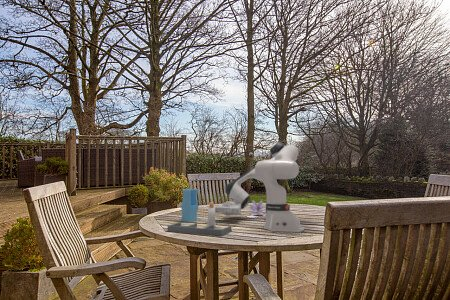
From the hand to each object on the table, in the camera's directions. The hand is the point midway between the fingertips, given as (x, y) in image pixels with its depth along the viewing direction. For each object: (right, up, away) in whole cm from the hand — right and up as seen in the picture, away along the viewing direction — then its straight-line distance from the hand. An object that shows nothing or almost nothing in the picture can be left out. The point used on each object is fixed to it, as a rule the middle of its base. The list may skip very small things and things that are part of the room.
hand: (220, 211), depth 219 cm
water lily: (+26, -9, +35) cm, 45 cm away
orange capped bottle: (-5, -7, -12) cm, 14 cm away
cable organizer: (-11, -7, -25) cm, 28 cm away
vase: (-20, -8, +10) cm, 23 cm away
